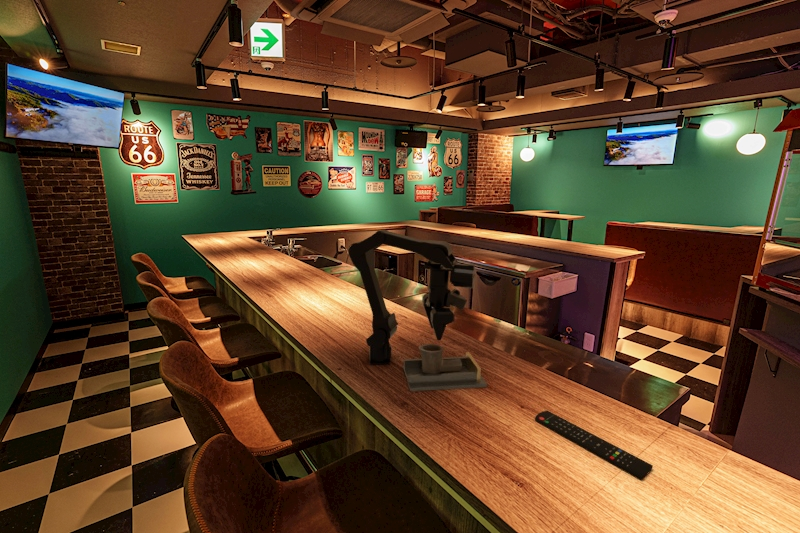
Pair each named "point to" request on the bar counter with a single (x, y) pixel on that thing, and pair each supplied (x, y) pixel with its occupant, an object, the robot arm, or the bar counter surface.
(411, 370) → the pipe cradle
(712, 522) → the bar counter surface
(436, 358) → the pipe
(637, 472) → the remote control
